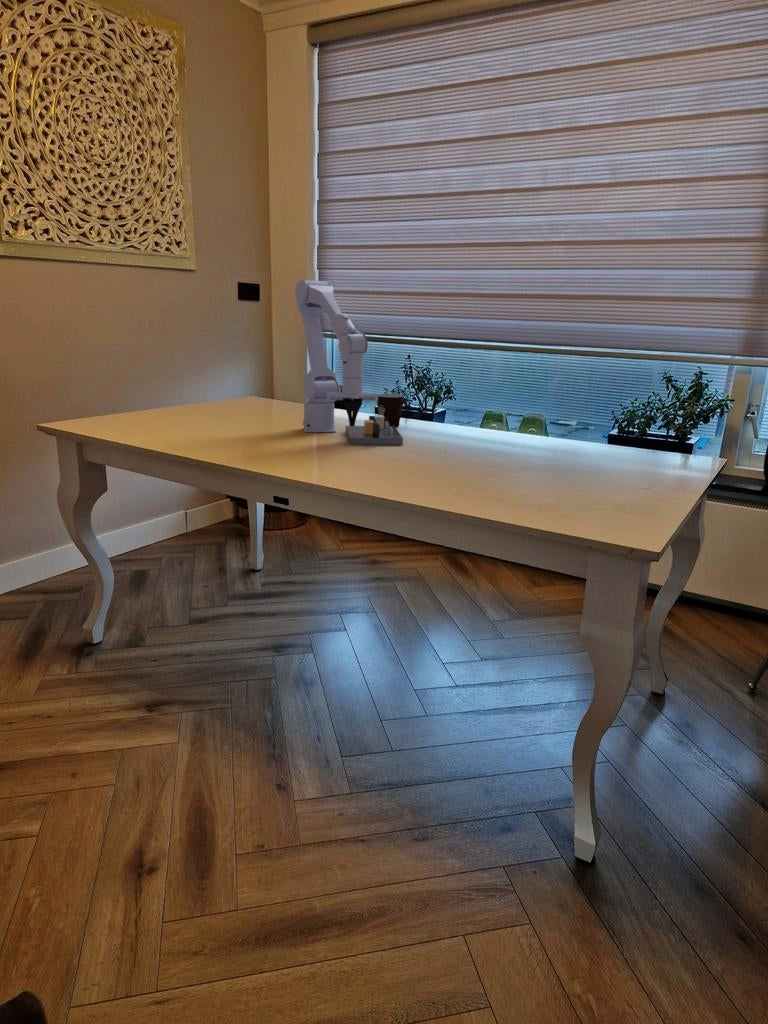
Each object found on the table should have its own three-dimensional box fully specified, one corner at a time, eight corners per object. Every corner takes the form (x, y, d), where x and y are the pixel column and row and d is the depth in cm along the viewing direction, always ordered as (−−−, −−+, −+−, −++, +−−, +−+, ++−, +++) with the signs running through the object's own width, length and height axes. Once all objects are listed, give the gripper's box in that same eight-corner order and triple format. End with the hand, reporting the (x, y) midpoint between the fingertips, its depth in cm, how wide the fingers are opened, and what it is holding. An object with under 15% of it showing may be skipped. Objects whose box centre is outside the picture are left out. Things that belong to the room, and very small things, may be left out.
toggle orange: (365, 434, 189) (365, 422, 188) (364, 431, 193) (364, 419, 192) (373, 434, 190) (374, 422, 189) (372, 431, 193) (372, 420, 192)
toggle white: (375, 428, 198) (376, 417, 197) (374, 426, 202) (374, 414, 201) (383, 428, 199) (384, 417, 198) (382, 426, 202) (382, 414, 201)
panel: (349, 444, 185) (350, 423, 183) (345, 432, 202) (345, 412, 200) (402, 445, 187) (403, 424, 185) (394, 432, 204) (394, 413, 202)
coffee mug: (372, 424, 217) (373, 393, 213) (397, 423, 219) (398, 393, 216) (383, 431, 206) (384, 398, 203) (409, 430, 209) (410, 398, 205)
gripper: (327, 378, 181) (327, 427, 185) (379, 379, 183) (378, 428, 187) (326, 375, 188) (326, 423, 192) (377, 376, 190) (375, 423, 194)
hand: (351, 425), depth 190 cm, fingers closed
